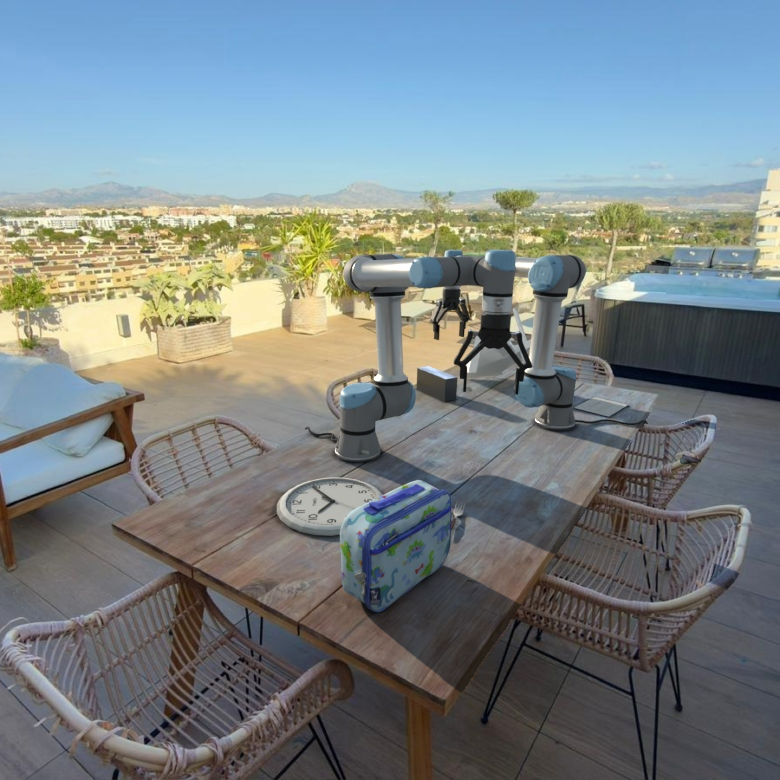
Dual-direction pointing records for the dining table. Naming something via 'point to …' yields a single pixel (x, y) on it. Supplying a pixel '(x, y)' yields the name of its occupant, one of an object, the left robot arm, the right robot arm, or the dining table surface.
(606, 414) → the invitation card
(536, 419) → the right robot arm
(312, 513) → the wall clock
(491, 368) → the white plastic object
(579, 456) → the dining table surface
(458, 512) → the fork
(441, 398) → the box
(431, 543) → the lunch box
